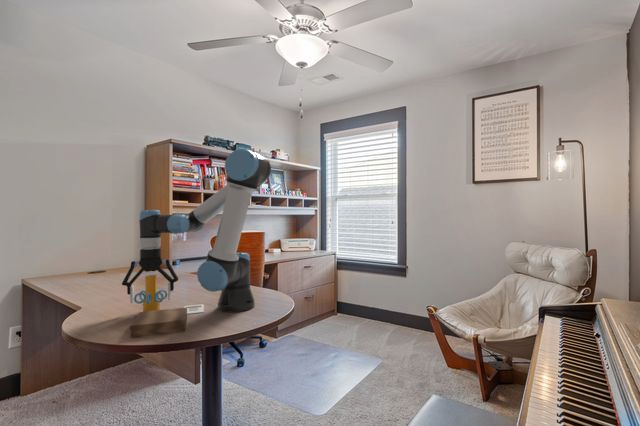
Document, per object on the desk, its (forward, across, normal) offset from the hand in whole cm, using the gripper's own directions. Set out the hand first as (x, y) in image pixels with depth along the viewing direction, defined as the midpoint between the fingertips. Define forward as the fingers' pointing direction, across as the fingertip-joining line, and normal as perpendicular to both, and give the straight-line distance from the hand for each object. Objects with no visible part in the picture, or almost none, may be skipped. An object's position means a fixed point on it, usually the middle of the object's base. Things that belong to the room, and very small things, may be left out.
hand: (151, 300), depth 134 cm
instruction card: (+5, -16, +2) cm, 17 cm away
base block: (+5, -6, +21) cm, 22 cm away
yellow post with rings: (+5, 0, 0) cm, 5 cm away
